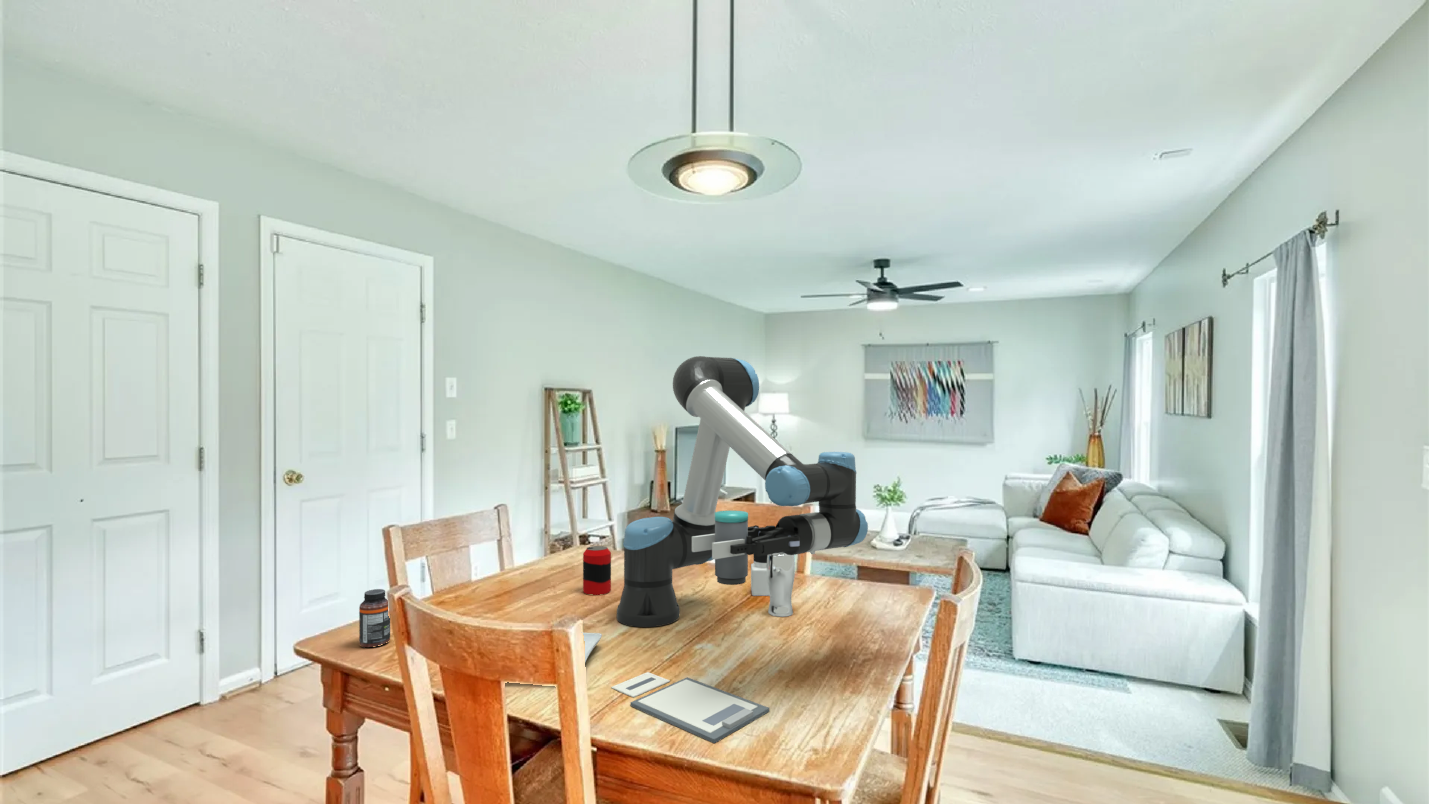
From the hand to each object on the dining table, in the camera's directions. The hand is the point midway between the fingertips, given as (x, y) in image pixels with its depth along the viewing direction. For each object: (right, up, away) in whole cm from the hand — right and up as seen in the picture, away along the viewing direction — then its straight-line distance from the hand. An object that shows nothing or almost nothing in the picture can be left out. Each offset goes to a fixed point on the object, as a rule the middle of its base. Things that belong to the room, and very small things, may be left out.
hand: (703, 547), depth 118 cm
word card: (-11, -26, +4) cm, 29 cm away
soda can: (-30, -27, +65) cm, 76 cm away
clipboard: (-1, -26, -6) cm, 27 cm away
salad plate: (-33, -27, +14) cm, 44 cm away
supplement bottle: (-71, -26, +25) cm, 80 cm away
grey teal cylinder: (+5, -7, +3) cm, 9 cm away
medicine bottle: (+16, -27, +64) cm, 71 cm away
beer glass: (+18, -27, +46) cm, 56 cm away
